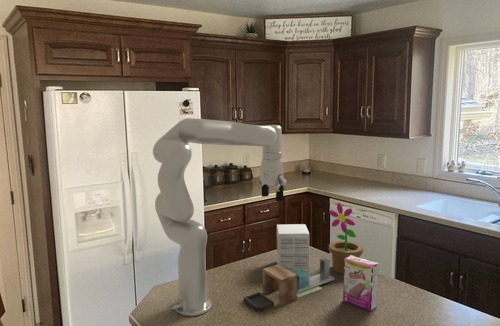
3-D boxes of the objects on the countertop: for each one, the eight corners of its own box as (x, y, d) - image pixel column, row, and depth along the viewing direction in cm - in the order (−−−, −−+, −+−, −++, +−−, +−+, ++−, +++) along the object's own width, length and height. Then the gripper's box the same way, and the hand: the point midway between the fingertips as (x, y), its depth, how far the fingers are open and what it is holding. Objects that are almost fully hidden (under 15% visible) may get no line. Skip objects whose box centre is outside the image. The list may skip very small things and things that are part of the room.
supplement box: (276, 261, 182) (276, 224, 180) (305, 260, 182) (305, 223, 179) (278, 273, 169) (278, 233, 166) (309, 273, 169) (309, 233, 166)
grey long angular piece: (298, 292, 150) (298, 272, 149) (287, 286, 155) (287, 267, 154) (334, 279, 161) (334, 260, 159) (323, 274, 165) (324, 256, 164)
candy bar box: (342, 301, 145) (343, 258, 142) (349, 296, 148) (350, 254, 146) (371, 312, 137) (372, 266, 135) (377, 306, 141) (379, 262, 138)
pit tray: (257, 311, 139) (257, 307, 138) (243, 301, 146) (243, 297, 146) (273, 305, 142) (273, 301, 142) (259, 295, 150) (259, 292, 150)
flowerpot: (321, 269, 172) (323, 201, 168) (339, 259, 182) (340, 195, 178) (351, 279, 162) (353, 207, 158) (368, 268, 173) (371, 201, 168)
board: (298, 297, 148) (298, 296, 148) (281, 287, 156) (281, 286, 156) (322, 289, 154) (322, 288, 154) (305, 279, 163) (305, 278, 163)
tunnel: (281, 305, 143) (281, 279, 141) (263, 292, 152) (262, 268, 151) (296, 299, 147) (296, 274, 145) (277, 287, 156) (277, 264, 154)
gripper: (252, 154, 163) (252, 195, 166) (277, 159, 149) (277, 204, 152) (267, 153, 168) (267, 193, 170) (293, 157, 153) (293, 201, 156)
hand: (272, 198), depth 161 cm, fingers open, 9 cm apart
